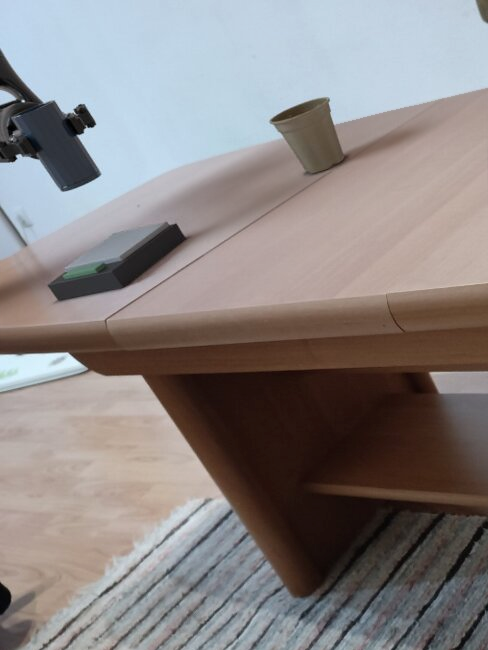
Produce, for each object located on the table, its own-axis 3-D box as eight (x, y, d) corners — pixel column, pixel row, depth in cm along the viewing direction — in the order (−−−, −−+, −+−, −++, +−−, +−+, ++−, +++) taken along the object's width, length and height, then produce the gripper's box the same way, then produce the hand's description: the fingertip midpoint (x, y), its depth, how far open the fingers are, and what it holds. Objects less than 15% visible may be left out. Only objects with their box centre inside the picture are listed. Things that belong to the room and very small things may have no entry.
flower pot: (351, 147, 137) (325, 92, 133) (358, 159, 130) (331, 101, 125) (295, 170, 136) (267, 116, 131) (299, 184, 129) (270, 126, 124)
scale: (58, 300, 117) (43, 280, 115) (124, 252, 127) (111, 233, 126) (123, 287, 113) (108, 266, 111) (186, 238, 123) (173, 218, 121)
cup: (52, 195, 116) (1, 121, 110) (80, 178, 120) (33, 106, 114) (82, 187, 114) (32, 111, 108) (110, 170, 118) (63, 96, 112)
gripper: (-36, 125, 119) (-24, 131, 107) (66, 83, 124) (89, 84, 112) (2, 177, 123) (17, 188, 111) (98, 135, 129) (124, 140, 116)
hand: (53, 136), depth 112 cm, fingers closed on cup, 5 cm apart
